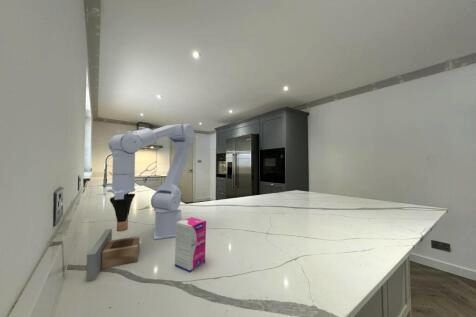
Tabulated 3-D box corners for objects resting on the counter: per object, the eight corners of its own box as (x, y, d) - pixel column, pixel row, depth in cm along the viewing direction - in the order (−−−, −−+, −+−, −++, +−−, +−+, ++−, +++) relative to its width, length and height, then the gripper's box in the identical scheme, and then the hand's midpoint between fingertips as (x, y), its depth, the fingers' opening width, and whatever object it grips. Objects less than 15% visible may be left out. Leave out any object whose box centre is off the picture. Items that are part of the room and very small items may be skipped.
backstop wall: (111, 247, 59) (111, 228, 60) (95, 280, 43) (95, 253, 43) (105, 248, 59) (105, 229, 59) (86, 281, 42) (87, 254, 43)
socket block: (139, 249, 58) (139, 236, 58) (137, 261, 51) (137, 246, 51) (108, 254, 55) (108, 240, 55) (101, 268, 48) (101, 252, 48)
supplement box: (190, 273, 46) (190, 225, 46) (174, 266, 49) (174, 221, 49) (206, 262, 51) (206, 219, 51) (190, 256, 54) (191, 216, 54)
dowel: (128, 227, 58) (128, 201, 58) (127, 230, 55) (127, 203, 55) (117, 228, 56) (118, 202, 57) (115, 232, 54) (116, 204, 54)
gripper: (113, 173, 61) (112, 215, 61) (101, 175, 48) (99, 229, 48) (137, 172, 64) (136, 213, 64) (132, 175, 51) (131, 225, 50)
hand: (122, 219), depth 56 cm, fingers closed on dowel, 3 cm apart
